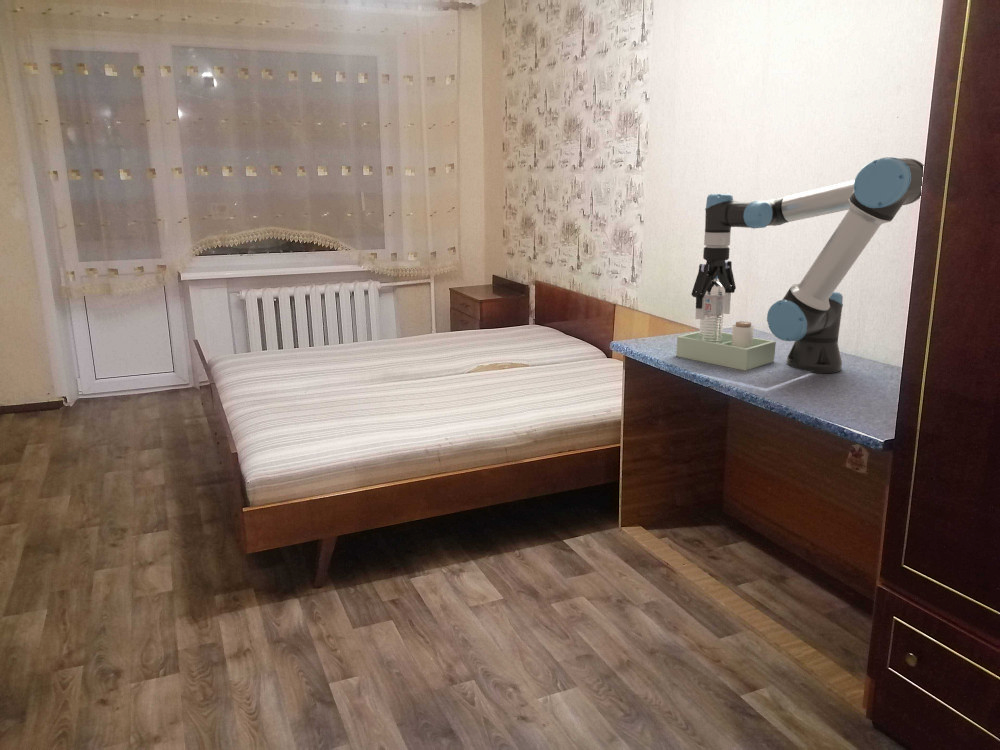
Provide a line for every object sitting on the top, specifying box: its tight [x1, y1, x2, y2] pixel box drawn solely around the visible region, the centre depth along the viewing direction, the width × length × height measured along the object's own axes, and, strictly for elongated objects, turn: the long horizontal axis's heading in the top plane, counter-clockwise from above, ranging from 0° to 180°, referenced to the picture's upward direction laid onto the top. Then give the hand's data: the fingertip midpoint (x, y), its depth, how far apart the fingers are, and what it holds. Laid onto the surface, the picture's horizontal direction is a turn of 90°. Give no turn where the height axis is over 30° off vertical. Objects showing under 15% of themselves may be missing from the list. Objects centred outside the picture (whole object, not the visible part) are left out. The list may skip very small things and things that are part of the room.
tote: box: [675, 331, 777, 372], centre depth 230 cm, size 24×16×7 cm, turn 41°
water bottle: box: [698, 276, 725, 344], centre depth 231 cm, size 7×7×25 cm
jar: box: [731, 320, 755, 348], centre depth 226 cm, size 6×6×12 cm
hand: (712, 316), depth 232 cm, fingers open, 13 cm apart
